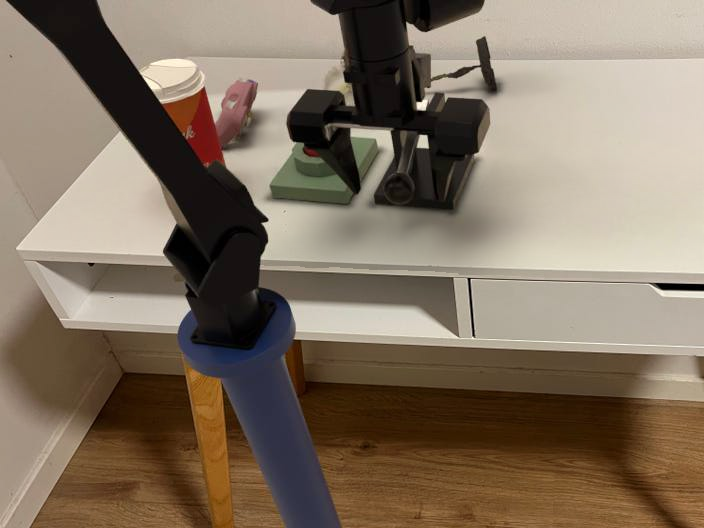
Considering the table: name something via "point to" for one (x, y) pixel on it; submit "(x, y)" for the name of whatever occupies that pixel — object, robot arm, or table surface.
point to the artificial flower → (337, 83)
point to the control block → (319, 174)
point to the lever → (405, 168)
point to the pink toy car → (236, 110)
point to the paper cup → (186, 104)
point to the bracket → (426, 170)
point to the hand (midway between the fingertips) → (400, 195)
